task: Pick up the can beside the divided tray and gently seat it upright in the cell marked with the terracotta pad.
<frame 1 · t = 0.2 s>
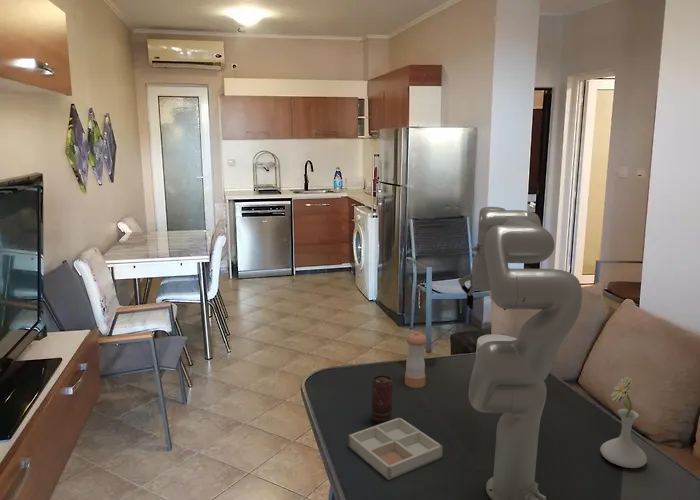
hand: (487, 308, 156), 37 cm above the table, tool pointing down, fingers open, 9 cm apart
can: (381, 422, 165), on the table
pepper shaker: (414, 383, 191), on the table
divided tray: (394, 451, 149), on the table
flower in vase: (621, 461, 145), on the table
milk container: (496, 391, 186), on the table
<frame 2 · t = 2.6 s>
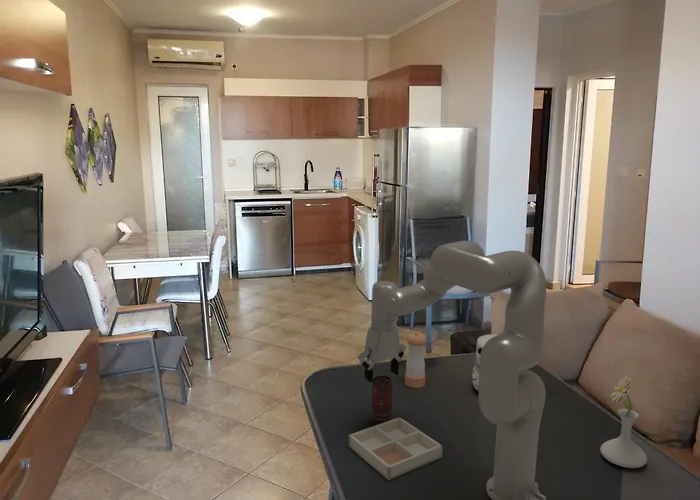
hand: (381, 376, 162), 15 cm above the table, tool pointing down, fingers open, 9 cm apart
nothing on the table moved.
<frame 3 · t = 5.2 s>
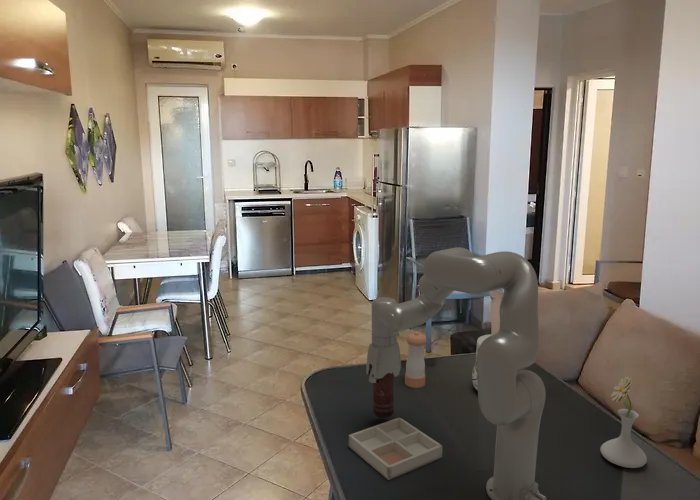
hand: (384, 396, 163), 8 cm above the table, tool pointing down, fingers closed
can: (384, 414, 164), point 3 cm above the table, touching gripper
everything else where it was.
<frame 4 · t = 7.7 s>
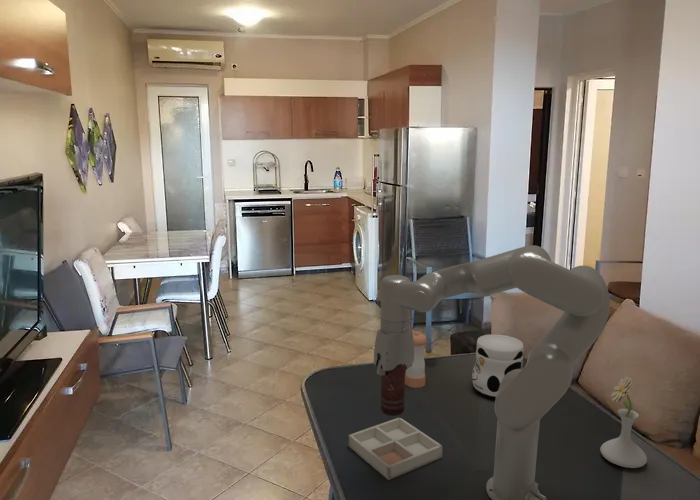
hand: (394, 391, 139), 21 cm above the table, tool pointing down, fingers closed
can: (393, 411, 140), point 15 cm above the table, touching gripper
everything else where it was.
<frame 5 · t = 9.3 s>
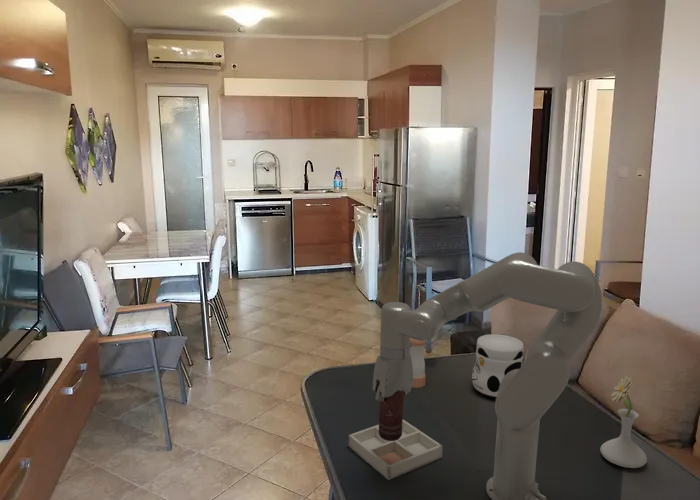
hand: (392, 417, 140), 14 cm above the table, tool pointing down, fingers closed
can: (390, 436, 141), point 8 cm above the table, touching gripper
everything else where it was.
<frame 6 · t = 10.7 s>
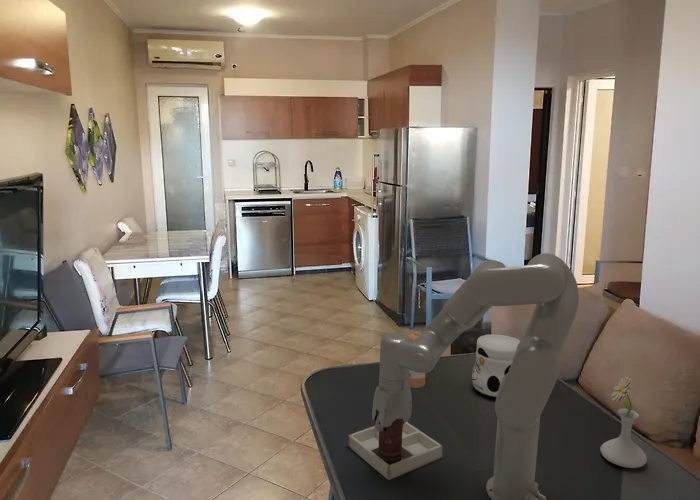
hand: (391, 445, 142), 6 cm above the table, tool pointing down, fingers closed
can: (390, 462, 143), point 1 cm above the table, touching divided tray
everything else where it was.
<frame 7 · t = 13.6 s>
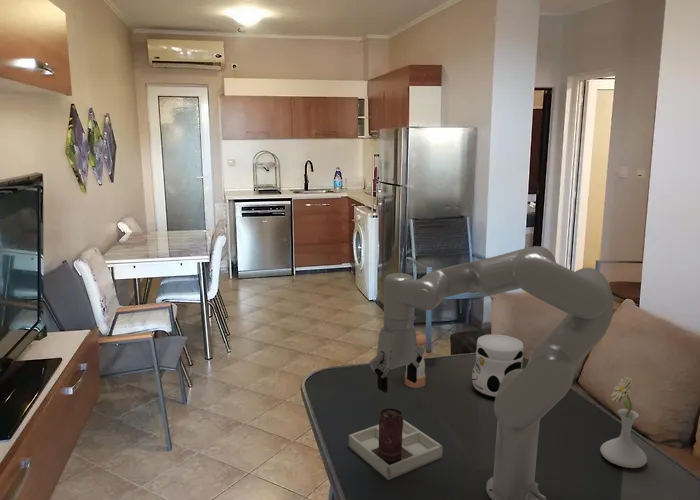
hand: (397, 385, 139), 22 cm above the table, tool pointing down, fingers open, 9 cm apart
nothing on the table moved.
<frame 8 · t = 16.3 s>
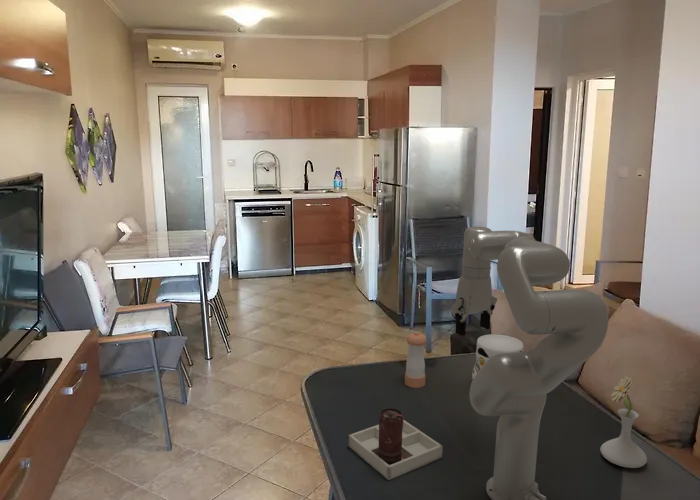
hand: (472, 331, 151), 32 cm above the table, tool pointing down, fingers open, 9 cm apart
nothing on the table moved.
at the end: can 0.4 cm from the target spot on the divided tray, point 0.6 cm above the divided tray's base; can tilted 0°; the gripper is holding nothing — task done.
